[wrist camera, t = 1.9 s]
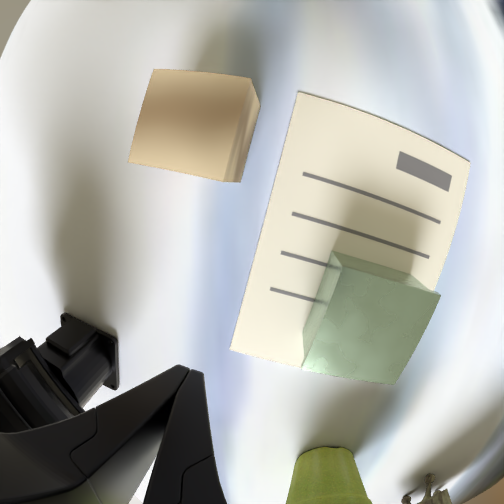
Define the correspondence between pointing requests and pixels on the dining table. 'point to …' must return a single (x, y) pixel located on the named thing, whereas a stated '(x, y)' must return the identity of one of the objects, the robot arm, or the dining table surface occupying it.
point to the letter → (344, 217)
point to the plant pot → (326, 478)
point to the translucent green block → (365, 320)
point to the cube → (196, 124)
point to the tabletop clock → (439, 500)
